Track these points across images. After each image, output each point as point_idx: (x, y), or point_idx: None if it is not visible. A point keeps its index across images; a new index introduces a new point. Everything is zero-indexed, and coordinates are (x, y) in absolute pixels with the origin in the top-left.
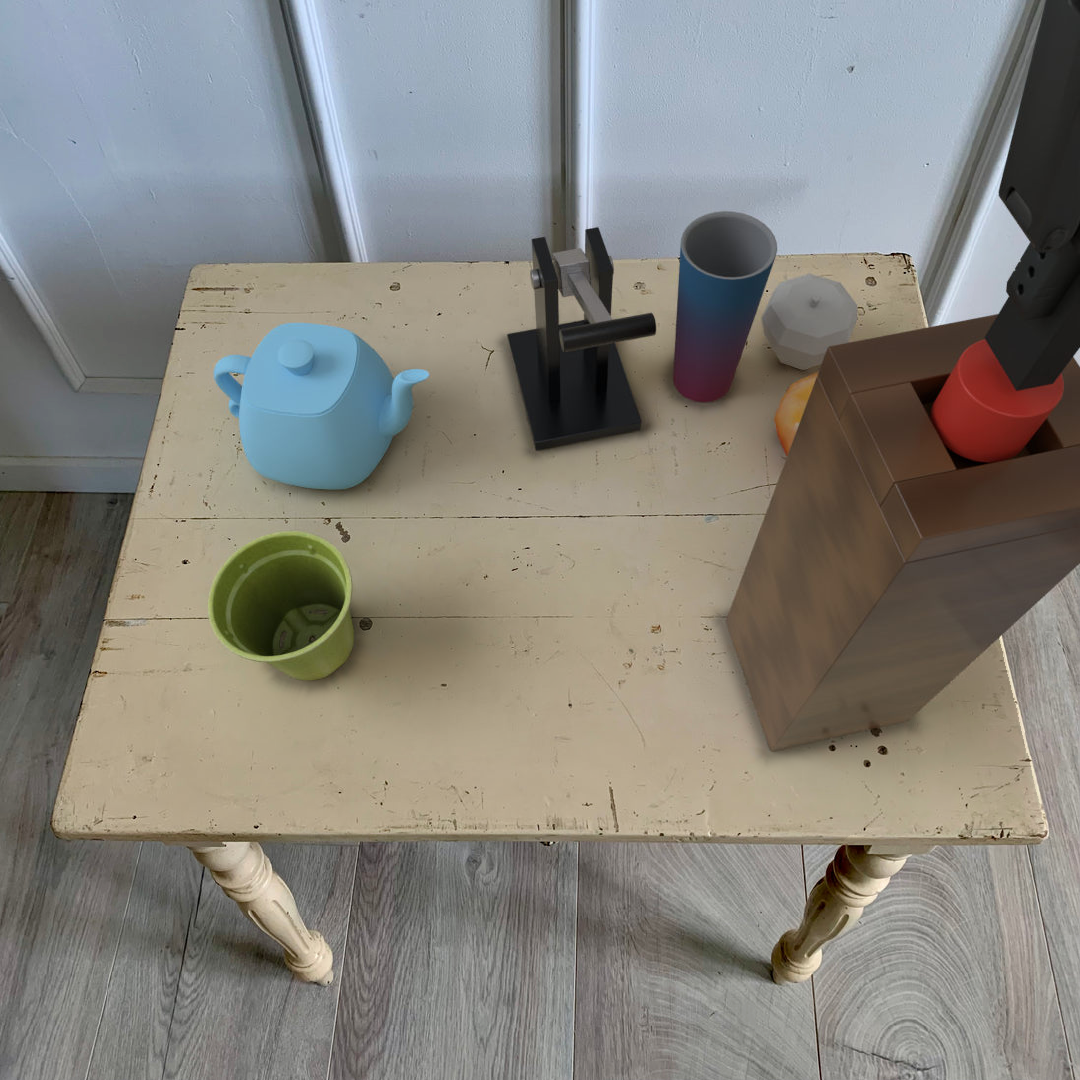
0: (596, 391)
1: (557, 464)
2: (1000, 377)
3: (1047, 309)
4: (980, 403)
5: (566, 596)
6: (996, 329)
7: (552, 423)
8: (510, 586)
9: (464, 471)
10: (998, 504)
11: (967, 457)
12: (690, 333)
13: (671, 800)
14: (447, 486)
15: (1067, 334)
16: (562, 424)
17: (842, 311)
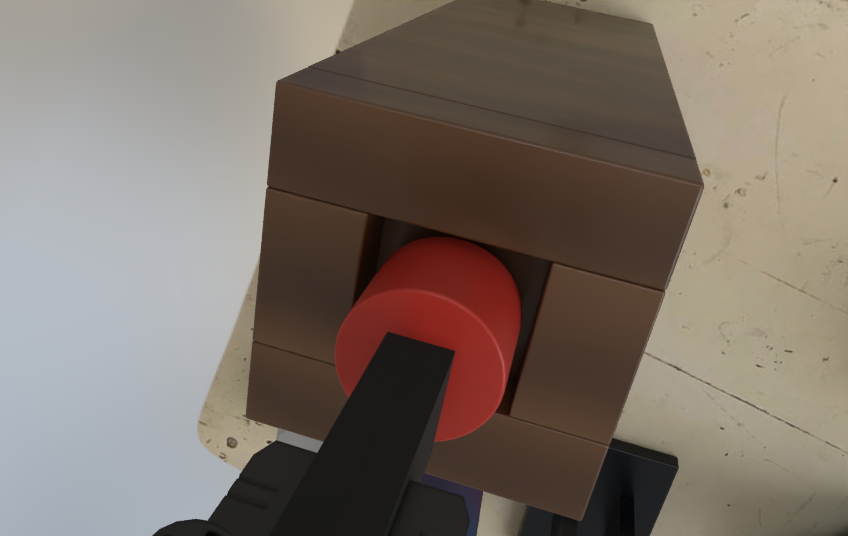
0: None
1: (664, 432)
2: None
3: (420, 499)
4: (501, 354)
5: (753, 296)
6: (426, 463)
7: (646, 477)
8: (806, 336)
9: (767, 475)
10: (537, 179)
11: (506, 269)
12: (475, 504)
13: (799, 22)
14: (796, 470)
15: (393, 428)
16: (636, 470)
17: (297, 439)
